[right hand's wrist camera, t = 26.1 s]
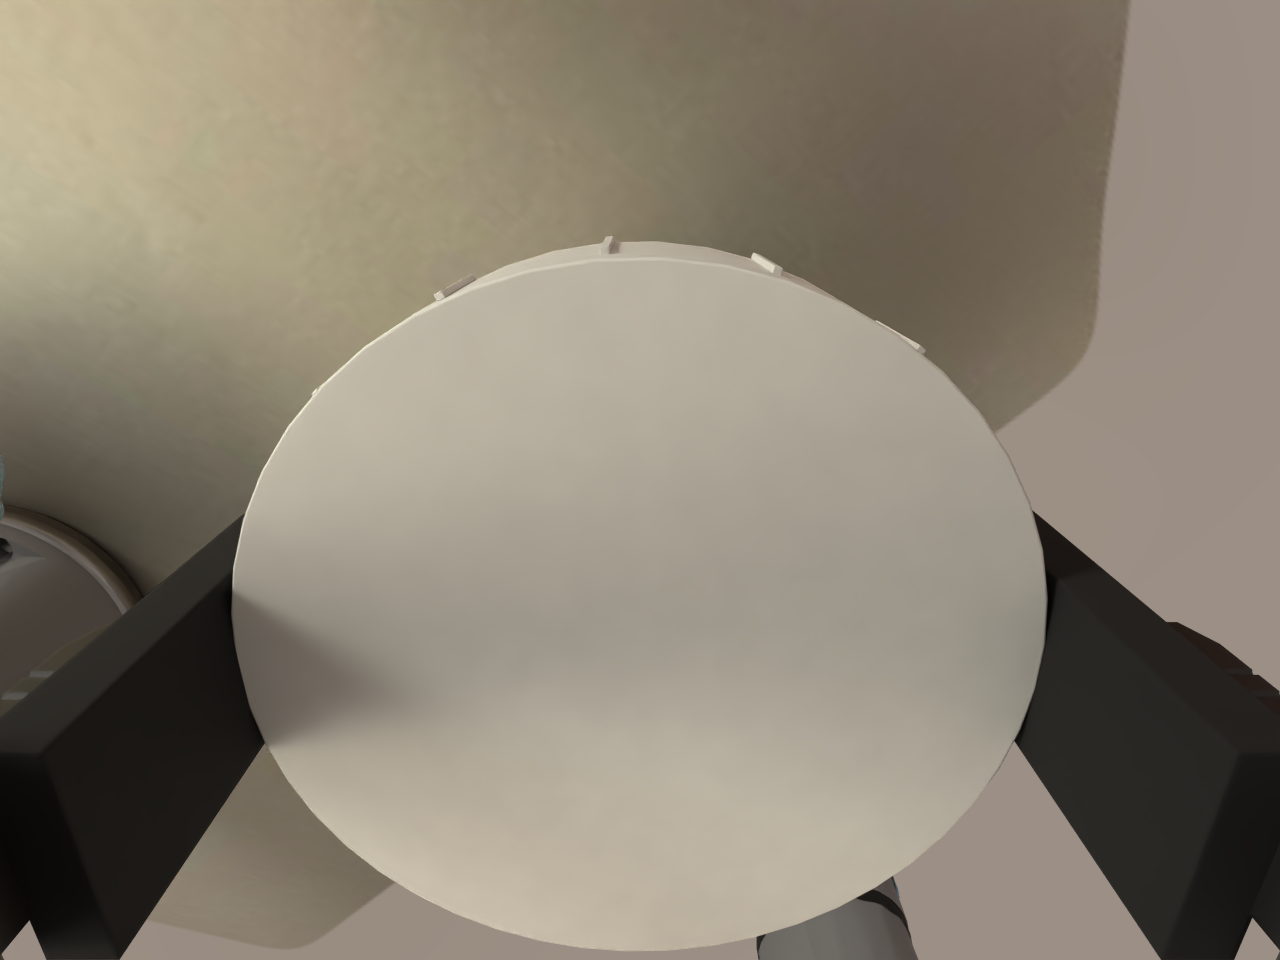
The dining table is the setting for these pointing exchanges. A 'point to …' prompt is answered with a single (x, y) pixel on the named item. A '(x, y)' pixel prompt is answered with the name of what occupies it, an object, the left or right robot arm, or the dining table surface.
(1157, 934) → the right robot arm
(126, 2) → the dining table surface
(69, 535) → the left robot arm
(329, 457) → the lid
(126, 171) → the dining table surface
